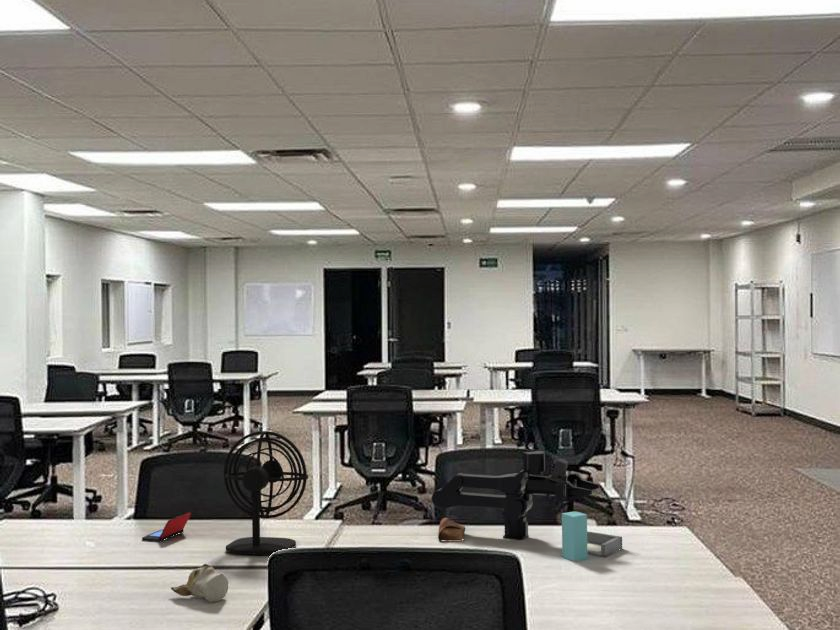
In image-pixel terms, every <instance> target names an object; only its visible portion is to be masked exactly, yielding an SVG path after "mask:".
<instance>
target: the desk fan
mask: <svg viewBox="0 0 840 630" xmlns="http://www.w3.org/2000/svg"><path fill="white" fill-rule="evenodd" d="M257 435H260V436H259V438H257V439H254V440H251V441H248V442H246V443H244V444H242V445H241V446H240V447H239V448H238V446H239V445H240V444H241V443H242V442H244V441H245V440H247V439H248V438H251V437H253V436H257ZM270 436H274V437H277V438H278V439H277V438H273V437H270ZM282 440H283V441H282ZM254 443H258V445H257V450H256V451H255V452H252V453H251V452H250V453H249V454H247V455H246V456H244V457H243V458H242V459H241V460H240V458H241V455H242V454H243V452H245V450H246V449H247V448H248V447H249V446H251V445H253V444H254ZM263 443H267V446H268V447H264V448H262V445H263ZM272 445H274V446H276V447H278V448H279V449H277V448H275V447H272ZM236 448H238V449H237V450H236ZM287 449H288V450H287ZM235 450H236V451H235ZM266 450H268V453H267V452H264V451H266ZM234 451H235V452H234ZM273 451H276V452H278V453H279V454H281V455H282V456H283V457H284V458H285V459H286V460H287V461H288V464H289V468H290V471H284V470H283V467H282V464H281V463H280V462H279V460H278V459H277V458H276V457H274V456H273ZM233 453H234V454H233ZM291 454H292V455H291ZM261 455H265V456H267V457H269V460H267V461H265V462H264V463H263V464H262V466H261V464H260V463H261ZM250 456H251V457H250ZM255 456H256V466H255V465H254V466H253V467H251V468H250V464H251V462H252V460H253V459H254V457H255ZM292 456H293V457H292ZM249 457H250V458H249ZM247 458H249V460H248V462H247V464H246V469H245V470H246V471H239V470H240V467H241V466H242V464H243V462H244V461H245V460H246V459H247ZM239 460H240V462H239ZM296 465H297V466H296ZM232 468H233V469H232ZM297 469H298V470H297ZM285 476H290V477H285ZM223 479H224V480H223V481H224V486H225V489H226V491H227V493H228V495H229V498H230V500H232V502H233V503H234V504H235V505H236V507H238V508H239V509H240V510H241V511H242V512H243V513H245V514H247V515H249V516H251V517H252V518H251V519H252V520H251V521H252V523H251V524H252V526H251V527H252V529H251V530H252V531H251V532H252V535H251V536H246V537H239V538H237V539H235V540H232V541H231V542H230V543H228V544H227V545H226V546H225V552H228V553H230V554H231V553H232V554H238V555H242V554H243V555H262V556H268V555H271V554H272V553H273V552H276V551H278V550H282V549H288V548H292V547H293V548H294V547H296V545H297V540H295V539H291V538H288V537H276V536H275V537H271V536H261V519H267V520H268V519H275V518H278V517H281V516H283V515H285V514H287V513H288V512H290V511H291V510H292V509H293V508H295V507H296V506H297V505H298V504H299V502H300V501H301V498H302V497H303V495H304V492H305V490H306V487H307V481H308V479H309V474H308V471H307V465H306V462H305V459H304V457H303V454H302V452H301V451H300V450H299V448H298V447H297V446H296V444H294V442H293V441H291V440H290V439H289V438H287V437H286V436H285V435H283V434H280V433H278V432H275V431H268V430H262V431H260V430H259V431H254V432H251V433H249V434H246V435H245V436H243V437H241V438H240V439H239V440H237V442H235V443H234V445H233V446H232V447H231V448H230V450H229V452H228V453H227V456H226V459H225V462H224V467H223ZM233 481H234V484H235V487H236V489H235V488H234V484H233ZM239 481H241V482H242V485H243V487H244V489H245V490H246V491H248V492H251V497H250V496H248V495H247V494H246V493H245V492H244V491H243V489H242V488H241V486H240V482H239ZM277 482H281V483H280V487H279V489H278V491H277V492H276V493H275V494H273V492H274V484H275V483H277ZM284 482H289V483H288V485H287V486H286V488H285V489H284V490H283V491H282V489H283V486H284ZM292 482H293V486H292V489H291V492H290V493H289V495H288V497H287V498H286V500H284V501H283V502H282V503H281V504H279V505H275V506H272V504H273V503H272V502H273V500H274V499H275V498H276V497H278V496H280V495H282V494H284V493H286V491H287V490H288V489H289V488H290V486H291V484H292ZM268 485H269V494H266V493H264V492H261V491H262V490H264V489H265V488H267V486H268ZM300 488H301V489H300ZM236 490H237V492H238V493H239V495H240V496H241V498H242V499H244V501H243V500H242V499H241V498H240V496H239V495H238V493H237V492H236ZM299 490H300V492H299ZM298 492H299V494H298ZM297 494H298V496H297V498H296V500H295V501H294V502H293V503H292V504H291V505H290V506H288V508H287V509H285V510H283V511H281V512H278V513H276V514H270V512H274V511H277V510H279V509H281V508H282V507H284V506H286V505H288V504H289V503H290V502H291V501H292V500H294V498H295V496H296V495H297ZM261 497H266V498H268V499H265V500H262V499H261ZM245 501H246V502H245ZM247 503H248V504H247ZM263 503H268V504H267V506H263V505H262V504H263ZM293 548H292V549H293ZM272 555H273V554H272Z"/></svg>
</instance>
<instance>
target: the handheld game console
mask: <svg viewBox="0 0 840 630" xmlns="http://www.w3.org/2000/svg"><path fill="white" fill-rule="evenodd" d="M191 514H192V513H191V511H189V512H186V513H184V514H181V515H179V516H177V517H172V518H171V519H168V521H167V522H166V523H165V525H164V527H163V529H159V530H156V531H154V532H151V533H150V534H147V535H144V536H142V539H141V541H143V540H147V541H146V542H152V541H162V540H164V539H166V538H169V537H170V538H172V537H171V536H173V535H176V534H178V533H181V532H183V533H184V529H185V527H186V525H187V524H188V521H189V519H190V517H191ZM170 538H169V539H170ZM164 541H165V540H164ZM162 542H163V541H162Z"/></svg>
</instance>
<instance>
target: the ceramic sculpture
mask: <svg viewBox="0 0 840 630" xmlns="http://www.w3.org/2000/svg"><path fill="white" fill-rule="evenodd" d="M229 584H230V583H229V581H228V577H227V576H226V575H225V574H224V573H223V572H222V573H219V574H218V573H217V572H216V571H215V568H214V567H213V566H211V565H209V564H207V563H203V564H202V566H201V567H198V568H196V569H193V570H192V571H191V572H190V573H189V575H188V579H187V582H186V584H180V585H179V586H175V587H174V586H172V587H170V589H171V590H172V591H173V593H175V594H177V595H179V596H182V597H189V596H192V597H195V598H199V599H206V601H207V602H209V603H217V602H220V601H221V600H222V599H224V598H225V597H226V596H227V593H228V590H229Z"/></svg>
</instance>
